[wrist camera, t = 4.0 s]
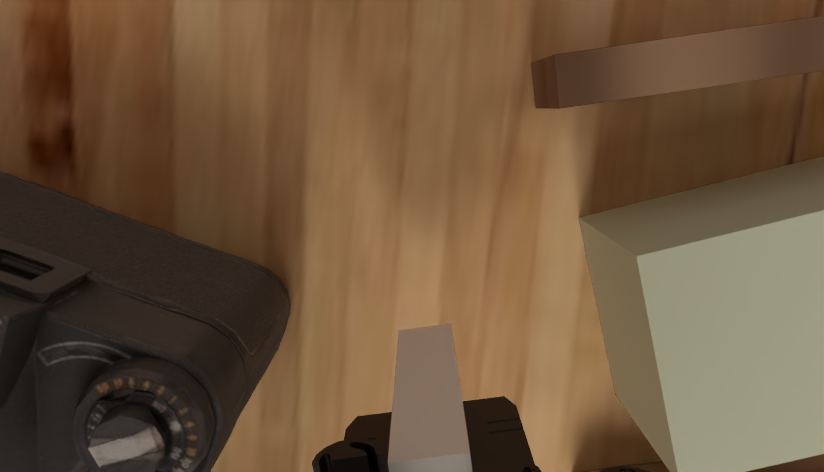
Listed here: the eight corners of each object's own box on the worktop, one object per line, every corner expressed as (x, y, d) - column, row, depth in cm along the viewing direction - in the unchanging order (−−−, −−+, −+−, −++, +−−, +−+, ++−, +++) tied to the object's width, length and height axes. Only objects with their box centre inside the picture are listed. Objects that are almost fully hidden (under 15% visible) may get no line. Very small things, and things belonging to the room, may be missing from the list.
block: (614, 392, 24) (680, 486, 18) (577, 216, 22) (636, 256, 17) (851, 336, 23) (999, 413, 18) (829, 153, 22) (981, 171, 16)
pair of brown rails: (575, 507, 25) (602, 572, 21) (531, 63, 21) (554, 54, 18) (937, 461, 24) (1024, 520, 21) (951, 1, 21) (1058, -19, 17)
